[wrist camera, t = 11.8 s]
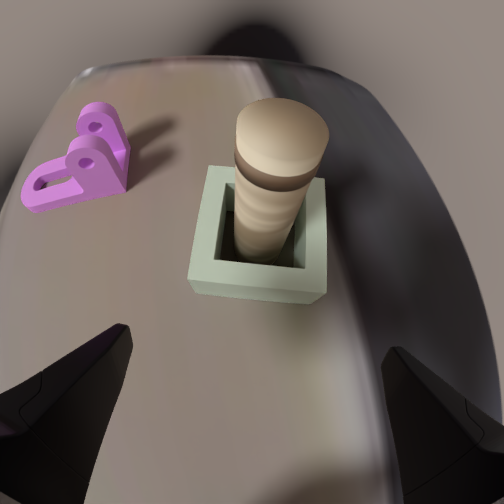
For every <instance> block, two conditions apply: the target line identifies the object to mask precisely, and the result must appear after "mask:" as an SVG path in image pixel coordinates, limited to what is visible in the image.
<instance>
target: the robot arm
mask: <svg viewBox="0 0 504 504" xmlns="http://www.w3.org/2000/svg"><path fill="white" fill-rule="evenodd" d="M132 349H133V342H132V337H131V332H130V328H129V326H128V325H125V324H120V323H117V324H115V325H113V326H112V327H110V328H109V329H107V330H105V331H104V332H102V333H101V334H99V335H97V336H96V337H94V338H93V339H91V340H89V341H88V342H86V343H85V344H83V345H81V346H80V347H78V348H77V349H75V350H74V351H72V352H70V353H69V354H67V355H66V356H64V357H62V358H61V359H59V360H58V361H56V362H55V363H53V364H51V365H50V366H48V367H47V368H45V369H44V370H43V371H40V372H39V373H37V374H36V375H34V376H32V377H31V378H29V379H28V380H26V381H24V382H23V383H21V384H19V385H17V386H15V387H13V388H11V389H9V390H7V391H5V392H3V393H1V394H0V504H84V500H85V497H86V493H87V490H88V486H89V482H90V479H91V475H92V472H93V469H94V465H95V462H96V459H97V456H98V453H99V450H100V447H101V444H102V441H103V438H104V435H105V432H106V429H107V426H108V423H109V421H110V418H111V415H112V412H113V410H114V407H115V404H116V402H117V399H118V396H119V394H120V391H121V388H122V386H123V382H124V378H125V375H126V371H127V367H128V363H129V360H130V356H131V353H132ZM381 372H382V379H383V386H384V393H385V400H386V406H387V411H388V415H389V419H390V424H391V428H392V433H393V438H394V443H395V448H396V454H397V459H398V465H399V471H400V478H401V484H402V492H403V496H404V497H403V501H404V504H504V426H503V425H502V424H500V423H499V422H497V421H496V420H494V419H493V418H491V417H490V416H489V415H487V414H486V413H484V412H483V411H481V410H480V409H479V408H478V407H476V406H475V405H474V404H472V403H471V402H470V401H469V400H467V399H466V398H465V397H464V396H462V395H461V394H460V393H459V392H458V391H456V390H455V389H454V388H453V387H451V386H450V385H449V384H448V383H446V382H445V381H444V380H443V379H441V378H440V377H439V376H438V375H436V374H435V373H434V372H433V371H431V370H430V369H429V368H427V367H426V366H425V365H424V364H422V363H421V362H420V361H419V360H417V359H416V358H415V357H414V356H412V355H411V354H410V353H408V352H407V351H406V350H405V349H403V348H402V347H391V348H390V349H389V350H388V352H387V354H386V356H385V358H384V359H383V361H382V364H381Z"/></svg>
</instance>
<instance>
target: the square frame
mask: <svg viewBox="0 0 504 504" xmlns="http://www.w3.org/2000/svg"><path fill="white" fill-rule="evenodd" d="M234 209H235V167H224V166H211V165H209V168H208V173H207V177H206V182H205V186H204V191H203V196H202V201H201V206H200V211H199V216H198V221H197V226H196V232H195V237H194V242H193V248H192V254H191V260H190V266H189V272H188V278H187V279H188V281H189V283H190V284H191V286H192V288H193V289H194V291H195V292H196V293H197V294H206V295H214V296H223V297H232V298H241V299H251V300H261V301H272V302H283V303H296V304H309V305H310V304H312V303H313V302H314V301H316V300H317V299H319V298H320V297H322V296H323V295H325V294H326V293H327V228H326V199H325V180H324V179H322V178H316V177H314V178H313V179H312V181H311V183H310V186H309V188H308V190H307V193H306V195H305V197H304V200H303V202H302V204H301V207H300V209H299V211H298V213H297V216H296V218H295V239H294V265H293V268H290V267H280V266H270V265H260V264H251V263H241V262H232V261H223V260H220V254H221V247H222V240H223V233H224V226H225V219H226V212H227V211H234Z"/></svg>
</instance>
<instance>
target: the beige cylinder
mask: <svg viewBox="0 0 504 504" xmlns="http://www.w3.org/2000/svg"><path fill="white" fill-rule="evenodd" d="M328 139H329V131H328V128H327V125H326V123H325V122H324V120H323V119H322V118H321V117H320V115H319V114H317V113H316V112H315V111H314V110H312V109H311V108H309V107H308V106H306V105H304V104H302V103H299V102H296V101H293V100H289V99H283V98H267V99H262V100H258V101H255V102H253V103H251V104H249V105H247V106H246V107H245V108H244V109H243V110H242V111H241V112H240V114H239V116H238V118H237V128H236V136H235V209H234V250H235V254H236V256H237V258H238V259H239V260H240V261H241V262H242V263H251V264H260V265H271V264H273V263H274V262H275V261H276V260H277V258H278V256H279V254H280V252H281V250H282V247H283V245H284V243H285V241H286V238H287V236H288V234H289V232H290V229H291V227H292V225H293V223H294V220H295V218H296V216H297V213H298V211H299V209H300V207H301V204H302V202H303V200H304V197H305V195H306V193H307V190H308V188H309V186H310V183H311V181H312V179H313V178H314V177H315V174H316V172H317V170H318V168H319V165H320V163H321V161H322V158H323V153H324V150H325V148H326V145H327V143H328Z"/></svg>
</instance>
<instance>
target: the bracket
mask: <svg viewBox="0 0 504 504" xmlns="http://www.w3.org/2000/svg"><path fill="white" fill-rule="evenodd" d="M96 122H99V123H96ZM76 130H77V132H78V134H79V137H77V138H75V139H74V140H73V141H72V142H71V143H70V145H69V148H68V152H67V155H66V156H63V157H60V158H57V159H54V160H51V161H48V162H45V163H43V164H41V165H39V166H38V167H37V168H35V169H34V170H33V171H32V172H31V174H30V175H29V176H28V178H27V179H26V181H25V183H24V185H23V188H22V191H21V200H22V203H23V204H24V205H25V206H26V207H27V208H28V209H29V210H30V211H32V212H34V213H39V212H43V211H46V210H50V209H54V208H58V207H62V206H66V205H70V204H74V203H78V202H83V201H87V200H91V199H96V198H101V197H105V196H110V195H115V194H120V193H125V192H126V187H127V176H128V166H129V158H130V150H131V146H130V144H129V142H128V139H127V137H126V134H125V132H124V129H123V127H122V124H121V122H120V119H119V117H118V114H117V112H116V110H115V109H114V107H112V106H111V105H109V104H107V103H104V102H93V103H90V104H88V105H87V106H85V107H84V108H83V109H82V111H81V113H80V116H79V118H78V121H77V124H76ZM70 175H72V178H71V179H70V180H69V181H67V182H65V183H61V184H58V185H54V186H51V187H48V188H44V189H41V190H40V188H41V187H42V185H43V184H45V183H46V182H50V181H53V180H56V179H59V178H63V177H66V176H70Z"/></svg>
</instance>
